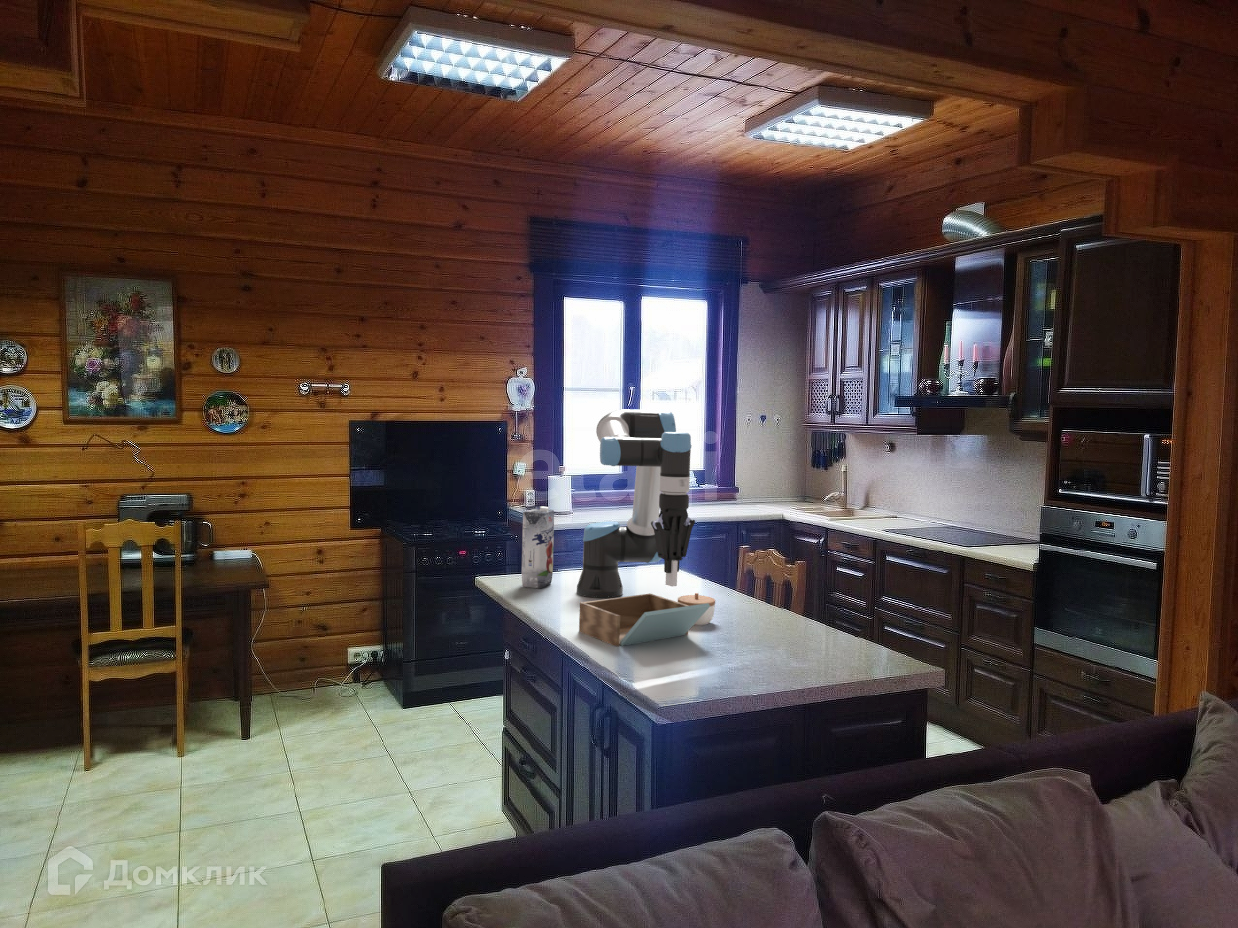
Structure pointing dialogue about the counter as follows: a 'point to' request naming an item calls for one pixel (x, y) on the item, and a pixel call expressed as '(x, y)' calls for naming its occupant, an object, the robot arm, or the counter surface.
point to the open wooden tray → (618, 615)
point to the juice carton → (537, 547)
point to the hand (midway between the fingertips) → (671, 585)
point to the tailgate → (664, 624)
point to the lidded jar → (698, 600)
